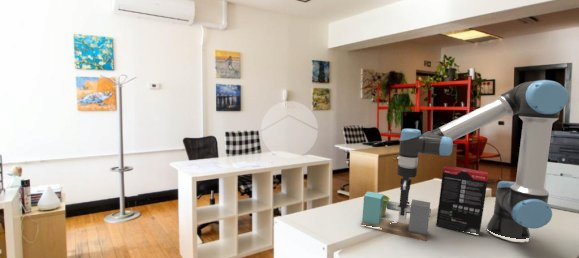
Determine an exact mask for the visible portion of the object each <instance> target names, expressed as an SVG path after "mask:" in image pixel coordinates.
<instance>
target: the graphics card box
mask: <svg viewBox="0 0 579 258" xmlns="http://www.w3.org/2000/svg"><path fill="white" fill-rule="evenodd" d="M488 179H489V172H488V171H483V170H477V169H471V168H464V167H458V166H453V165H446V164H445V165H444V166H443V167H442V177H441V182H440V184H441V186H440V192H439V197H438V198H439V200H438V201H439V202H438V207H437V215H436V216H437V217H436V222H435V223H436V226H437V227H441V228H444V229H450V230H453V231H456V230H458V231H457V232H460V231H464V232H470V233H476V234H479V235H480V232H481V227H482V220H483V214H484V208H485V200H486V195H487V187H488ZM464 232H463V233H464Z"/></svg>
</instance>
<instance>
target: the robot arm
mask: <svg viewBox="0 0 579 258" xmlns="http://www.w3.org/2000/svg"><path fill="white" fill-rule="evenodd" d="M568 100H569V93H568V91H567V89H566V88H565V87H564V86H563V85H562V84H561V83H559V82H557V81H554V80H550V79H549V80H548V79H540V80H534V81H533V80H530V81H525V82H523V83H520V84H518V85H517V86H514V87H513V88H510V90H507V91H505V92H504V93H501V94H499V95H498V96H497V98H496V100H493V101H491V102H488V103H487V104H485V105H483V106H481V107H479V108H477V109H473V111H470V112H468V113H466V114H464V115H462V116H460V117H457V118H456V119H453V120H452V121H450V122H448V123H446V124H444V125H442V126H440V127H438V128H435V129H433V130H431V131H426V132H425V133H423V134H422V132H421V130H420V129H415V128H403V129H402V130H401V131H400V132H401V133H400V137H399V149H398V150H399V152H398V156H397V158H396V159H397V160H398V162H397V164H398V165H397V170H396V173H397V175H398V176H400V177H402V178H400V182H399V183H400V187H399V189H400V193H399V194H400V195H399V196H400V197H399V203H400V205H398V207H400V208H399V211H398V219H397V222H400V223H405V224H406V220H407V214H408V213H406V209H407V206H406V204H408V205H410V201H409V195H410V189H411V185H412V179H411V178H416V177H417V172H418V168H417V167H418V165H419V163H418V162H419V154H426V155H433V156H434V155H435V156H440V157H441V156H443V157H444V156H448V157H449V156H451V154H452V152H453V149H454V148H453V147H454V143H453V141H455V140H457V139H459V138H461V137H463V136H466V135H468V134H470V133H473V132H474V131H476V130H478V129H480V128H483V127H485V126H488V125H490V124H492V123H494V122H496V121H498V120H500V119H503V118H504V117H507V116H508V117H513V116H515V115H518V118H520V120H522V127H521V128H522V129H521V136H520V137H521V138H520V142H519V143H520V144H519V145H520V146H519V153H518V161H517V169H516V171H517V172H516V177H515V181H507V180H501V181H498V183H497V186H496V192H495V199H494V200H495V201H494V207H493V208H494V209H493V213H492V214H493V215H492V216H491V218H490V219H489V221H488V223H487V225H486V230H487V229H488V230H489V231H491V232H493V233H495V234H498V235H501V236H505V237H510V238H516V239H526V238H529V237H530V238H531V234H530V229H539V228H542V227H544V226H546V225H548V223H550V221H551V220H552V217H553V210H552V207H551V206H550V205H549V204H548V203H549V196H550V195H549V191H548V190H547V189H546V188H545V185H546V184H545V182H546V177H547V176H546V175H547V168H548V159H549V154H550V153H549V152H550V144H551V136H552V128H553V124H554V123H555V122H557V121H558V120H559V119H560V112H561V110H563V108H566V106H567V104H568Z"/></svg>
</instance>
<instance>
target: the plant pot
mask: <svg viewBox="0 0 579 258" xmlns="http://www.w3.org/2000/svg"><path fill="white" fill-rule="evenodd" d="M388 201H390V196H388V195H386V194H385V195H384V194H383V206H382V217H385V216H386V211H387V202H388ZM384 215H385V216H384Z"/></svg>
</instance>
